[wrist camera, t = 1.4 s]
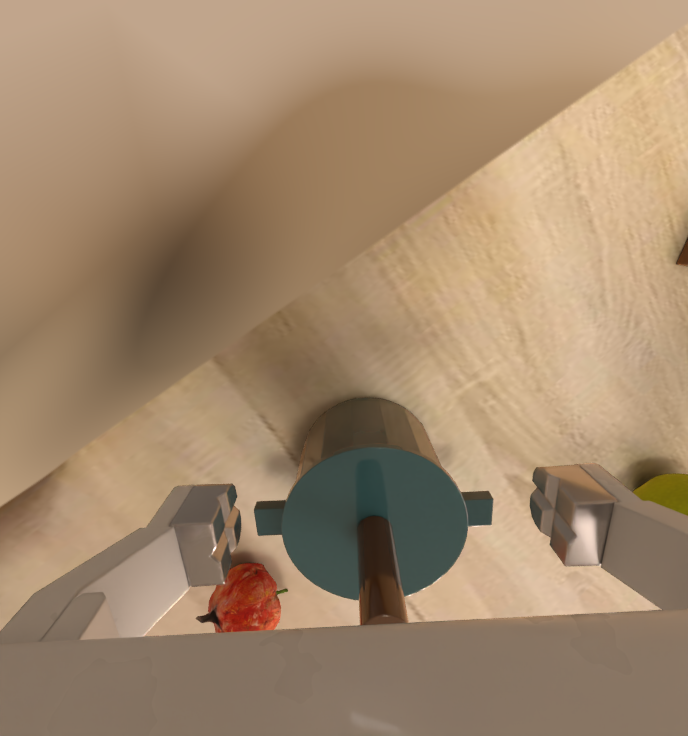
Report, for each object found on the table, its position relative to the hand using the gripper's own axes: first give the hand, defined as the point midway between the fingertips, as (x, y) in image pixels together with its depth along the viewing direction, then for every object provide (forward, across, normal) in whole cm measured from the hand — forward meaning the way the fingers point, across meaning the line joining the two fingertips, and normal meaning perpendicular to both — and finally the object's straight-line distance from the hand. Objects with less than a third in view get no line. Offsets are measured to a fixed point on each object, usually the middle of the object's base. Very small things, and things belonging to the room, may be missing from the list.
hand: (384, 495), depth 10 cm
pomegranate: (+23, +12, +27) cm, 38 cm away
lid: (+13, 0, +13) cm, 19 cm away
